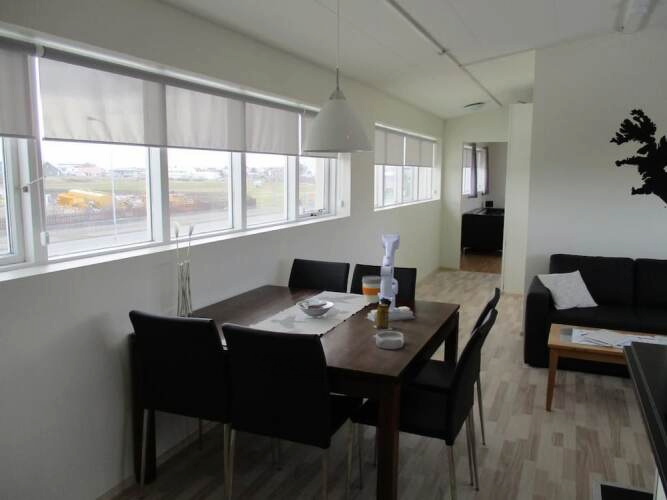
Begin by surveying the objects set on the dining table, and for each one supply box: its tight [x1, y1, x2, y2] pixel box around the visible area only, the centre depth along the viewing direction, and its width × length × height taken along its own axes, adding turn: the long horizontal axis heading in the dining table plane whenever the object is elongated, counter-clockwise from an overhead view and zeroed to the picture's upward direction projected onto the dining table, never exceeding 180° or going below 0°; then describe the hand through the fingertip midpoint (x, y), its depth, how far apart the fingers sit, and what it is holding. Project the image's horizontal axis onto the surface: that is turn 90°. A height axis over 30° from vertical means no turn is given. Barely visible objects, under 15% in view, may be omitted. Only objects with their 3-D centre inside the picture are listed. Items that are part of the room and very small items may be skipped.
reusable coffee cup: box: [361, 275, 382, 304], centre depth 337 cm, size 13×13×15 cm
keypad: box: [364, 310, 417, 324], centre depth 300 cm, size 12×26×3 cm, turn 117°
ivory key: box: [398, 306, 411, 312], centre depth 304 cm, size 4×4×3 cm
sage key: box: [370, 309, 378, 316], centre depth 296 cm, size 4×4×3 cm
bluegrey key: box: [390, 307, 401, 314], centre depth 301 cm, size 4×4×3 cm
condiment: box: [372, 303, 393, 331], centre depth 280 cm, size 7×8×12 cm
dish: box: [372, 330, 405, 350], centre depth 253 cm, size 14×14×5 cm
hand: (385, 311), depth 299 cm, fingers closed, pressing on terracotta key
